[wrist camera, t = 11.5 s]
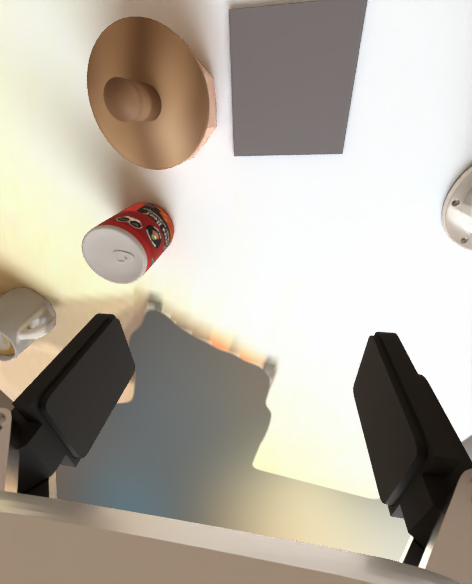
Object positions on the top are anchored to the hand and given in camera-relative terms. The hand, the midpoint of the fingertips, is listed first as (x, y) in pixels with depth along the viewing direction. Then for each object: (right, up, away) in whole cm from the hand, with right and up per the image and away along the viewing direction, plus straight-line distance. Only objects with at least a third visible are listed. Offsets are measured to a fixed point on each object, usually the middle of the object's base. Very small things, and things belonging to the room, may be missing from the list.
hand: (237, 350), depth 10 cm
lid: (-9, +21, +17) cm, 29 cm away
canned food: (-13, +12, +31) cm, 36 cm away
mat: (+6, +25, +19) cm, 32 cm away
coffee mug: (-40, -1, +45) cm, 60 cm away
